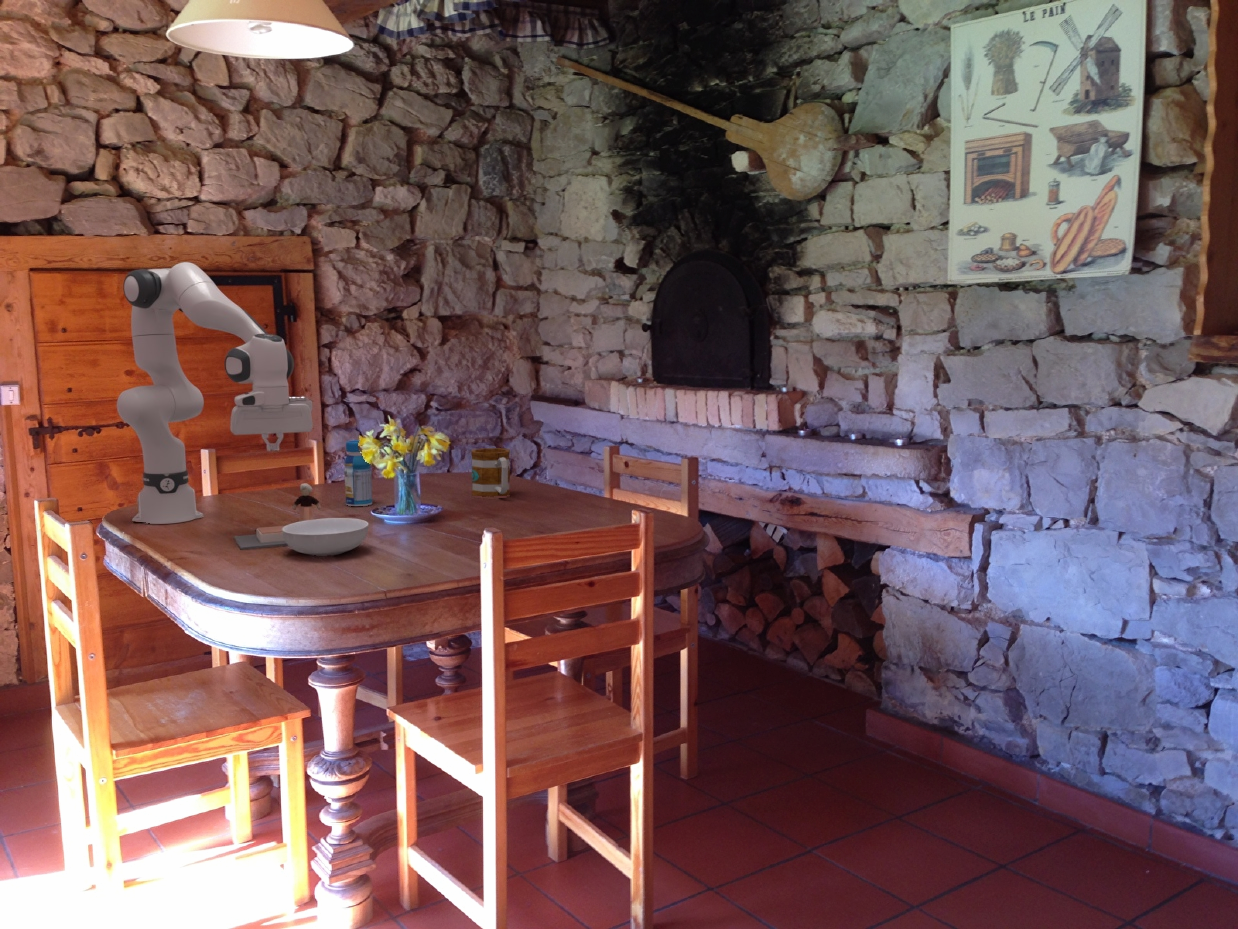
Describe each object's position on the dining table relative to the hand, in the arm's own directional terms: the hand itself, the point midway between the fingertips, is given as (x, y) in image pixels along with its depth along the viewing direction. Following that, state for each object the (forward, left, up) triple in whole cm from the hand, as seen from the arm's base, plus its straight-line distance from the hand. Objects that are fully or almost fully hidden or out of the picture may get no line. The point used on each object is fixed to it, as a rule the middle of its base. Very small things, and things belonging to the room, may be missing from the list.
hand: (273, 450), depth 270 cm
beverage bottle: (-43, +31, -24) cm, 58 cm away
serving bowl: (+19, +9, -24) cm, 32 cm away
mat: (0, -2, -24) cm, 24 cm away
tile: (0, -5, -22) cm, 23 cm away
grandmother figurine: (-13, +10, -24) cm, 29 cm away
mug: (-38, +74, -24) cm, 87 cm away
